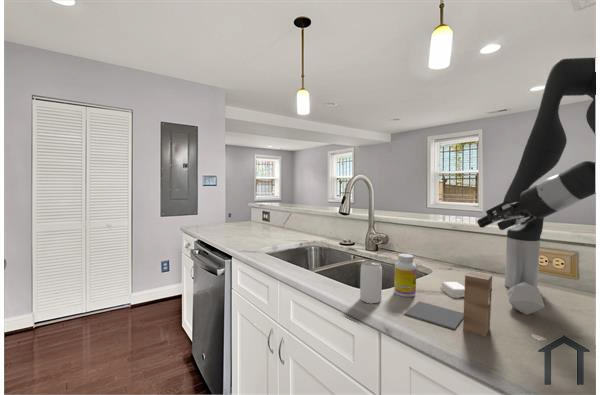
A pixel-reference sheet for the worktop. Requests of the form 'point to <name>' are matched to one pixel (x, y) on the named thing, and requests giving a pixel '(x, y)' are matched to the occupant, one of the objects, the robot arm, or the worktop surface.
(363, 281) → the can
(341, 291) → the worktop surface
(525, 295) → the die
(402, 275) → the supplement bottle
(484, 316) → the brown wooden block
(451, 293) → the soap
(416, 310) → the mat
